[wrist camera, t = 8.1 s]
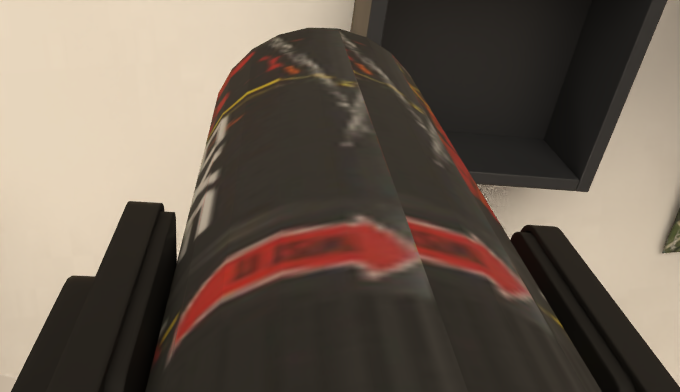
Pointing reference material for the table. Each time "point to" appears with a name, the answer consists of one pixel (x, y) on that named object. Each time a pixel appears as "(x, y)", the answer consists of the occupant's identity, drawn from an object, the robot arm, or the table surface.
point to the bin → (519, 78)
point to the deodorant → (347, 244)
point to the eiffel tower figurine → (673, 237)
